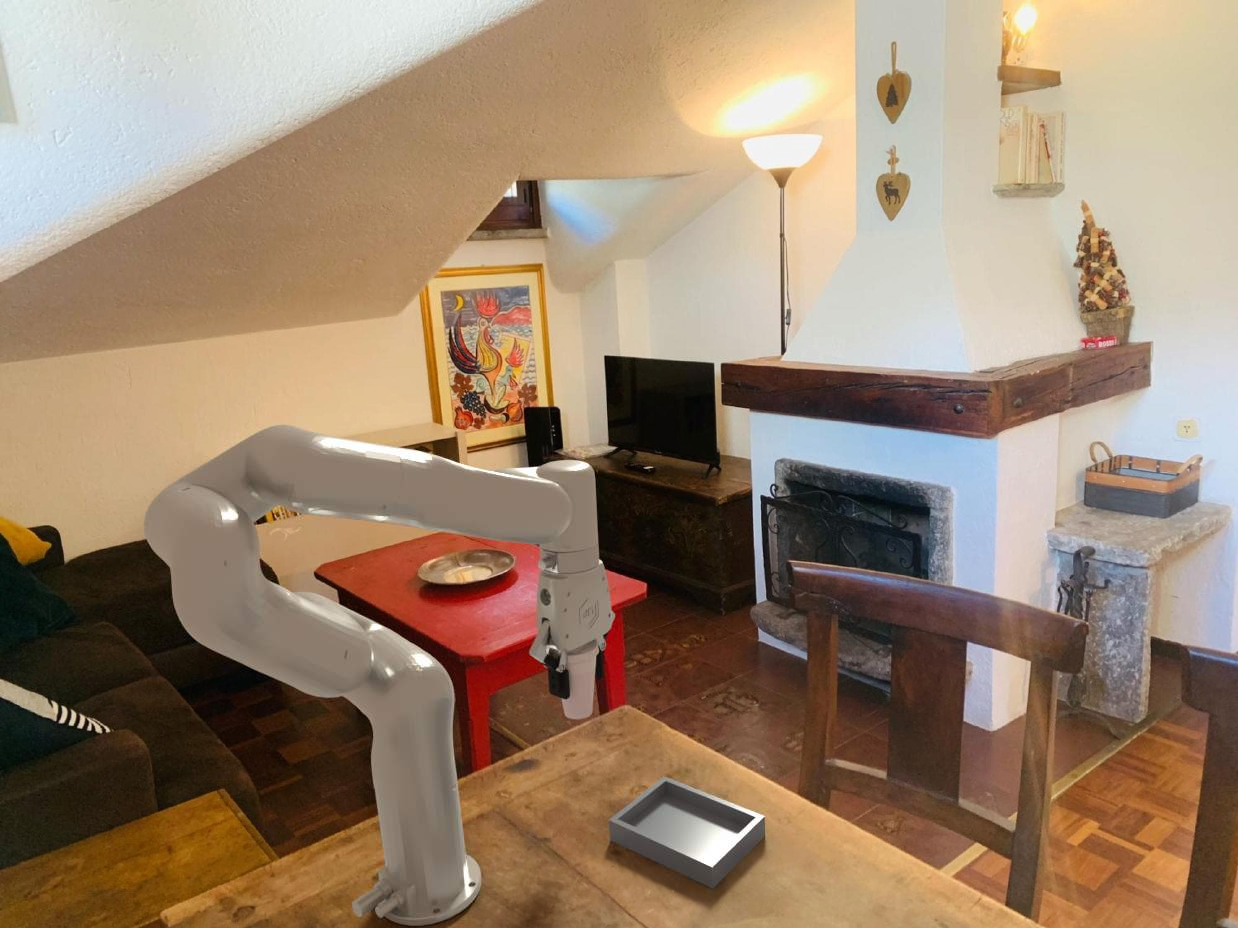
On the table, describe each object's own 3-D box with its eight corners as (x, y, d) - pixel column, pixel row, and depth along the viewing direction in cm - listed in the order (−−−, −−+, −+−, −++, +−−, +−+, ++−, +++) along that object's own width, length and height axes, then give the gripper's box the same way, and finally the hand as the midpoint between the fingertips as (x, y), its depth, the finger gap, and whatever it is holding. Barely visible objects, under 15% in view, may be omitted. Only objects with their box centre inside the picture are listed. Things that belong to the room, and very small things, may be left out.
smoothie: (604, 700, 127) (599, 604, 123) (599, 724, 120) (593, 624, 117) (558, 700, 127) (552, 605, 124) (550, 724, 121) (543, 624, 118)
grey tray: (713, 888, 110) (712, 866, 110) (610, 840, 120) (608, 819, 120) (765, 836, 119) (764, 815, 119) (665, 795, 129) (664, 776, 129)
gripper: (543, 582, 110) (552, 720, 114) (634, 544, 123) (639, 669, 127) (500, 570, 115) (510, 703, 119) (592, 535, 128) (598, 656, 132)
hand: (577, 684), depth 123 cm, fingers closed on smoothie, 6 cm apart
